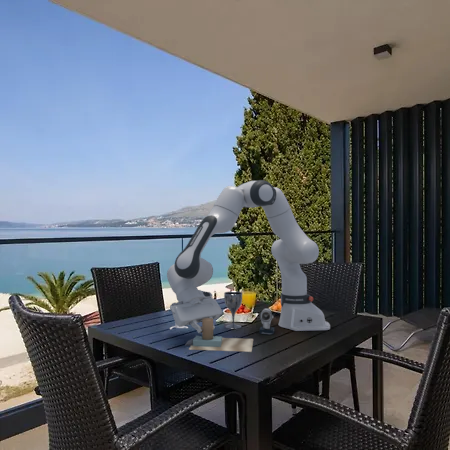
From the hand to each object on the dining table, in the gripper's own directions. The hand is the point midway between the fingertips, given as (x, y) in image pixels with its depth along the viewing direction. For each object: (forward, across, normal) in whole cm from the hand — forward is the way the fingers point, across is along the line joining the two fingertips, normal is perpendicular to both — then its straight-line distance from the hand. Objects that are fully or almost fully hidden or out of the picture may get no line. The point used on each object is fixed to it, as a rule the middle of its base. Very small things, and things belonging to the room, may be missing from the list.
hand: (207, 330), depth 139 cm
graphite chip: (0, -4, +7) cm, 9 cm away
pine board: (+7, +4, +2) cm, 8 cm away
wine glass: (-6, +27, +15) cm, 32 cm away
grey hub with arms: (-16, +5, +26) cm, 31 cm away
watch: (+8, +27, +1) cm, 28 cm away
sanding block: (+4, 0, +3) cm, 5 cm away
